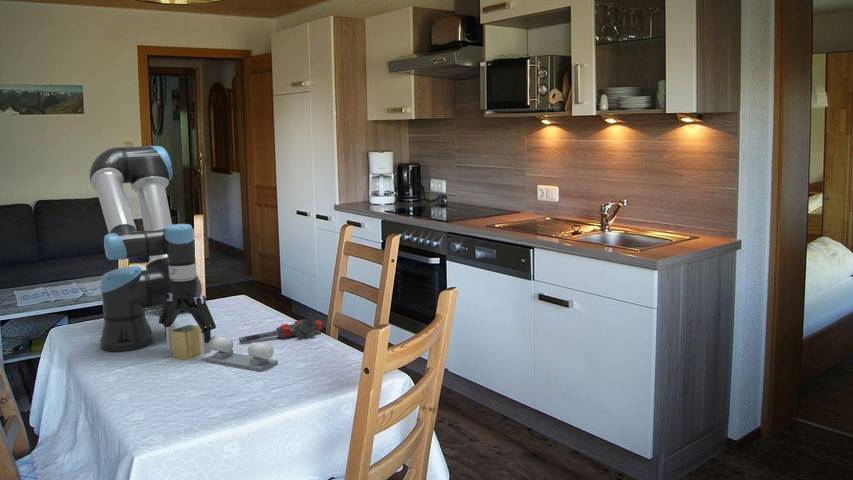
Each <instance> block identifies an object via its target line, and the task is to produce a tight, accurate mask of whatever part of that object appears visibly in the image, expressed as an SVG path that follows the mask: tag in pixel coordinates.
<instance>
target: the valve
mask: <svg viewBox="0 0 853 480" xmlns="http://www.w3.org/2000/svg"><path fill="white" fill-rule="evenodd" d="M323 327H324V326H323V322H322V321H321V320H319V319H317V320H314V321H311V320H310V319H306V318H305V319H301V320H295V321H294V323H293V324H288V323H287V324H282V325H280V326H279V327H277V328H276V330H273V331H268V332H263V333H258V334H251V335H250V334H249V335H246V336H245V335H244V336H240V337H239V338H238V340H239V342H240V343H245V342H248V341H249V342H251V341H256V340H259V339H267V338H270V337H276V336H277V337H278V338H279V339H283V338H284V339H290V338H289V337H291V336H296V337H297V338H298V339H299V340H301V341H303V340H302V339H304V340H309V339H308V338H311V339H312V338H313V337H314V336H315V334H316V332H318V331H320V330H322V329H323Z"/></svg>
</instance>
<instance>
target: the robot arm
mask: <svg viewBox="0 0 853 480" xmlns="http://www.w3.org/2000/svg"><path fill="white" fill-rule="evenodd" d="M172 178H173V169H172V162H171V157H170V155H169V154H168V151H167V150H166V148H164V147H163V146H159V145H154V146H153V145H147V146H145V145H144V146H125V147H124V146H122V147H121V146H120V147H119V146H116V147H111V148H108V149H105V151H104V150H103V152H101V153H100V154H99V155H98V156H97V157H96V158H95V159H94V161H93V163H92V164H91V166H90V170H89V180H90V184H91V185H90V186H92V188H93V189H94V190H95V191H96V193H97V195H98V199H99V200H98V201H99V203H100V207H101V210H102V214H103V217H104V221H105V224H106V228H107V231H108V234H105V235H104V236H103V237H104V238H103V246H104V253H105V257H106V259H108V260H110V261H117V260H119V261H121V260H123V261H124V260H129V259H136V258H145V257H149V261H148V262H147V263H145V264H146V265H145V269H146V270H145V269H144V270H143V269H142V268H141V267H140V266H138V265H133V266H125V267H124V266H123V267H120V268H115V269H112V270H110V271H107V272H105V273H104V274H103V275H102V276H101V278H100V292H101V299H102V300H101V301H102V308H103V309H102V310H103V320H104V323H103V327H102V331H101V332H102V333H101V337H100V339H99V344H100V349H101V350H103V351H106V352H127V351H133V350H138V349H142V348H145V347H147V346H150V345H151V344H153V343H154V334H153V331H152V328H151V327H150V325H149V322H148V320H147V317H146V310H145V309H147V308H148V309H149V308H150V309H151V308H154V307H155V308H156V307H158V306H163V308H161V312H160V314H159V315H160V316H159V319H158V324H161V325H163V327H164V333H165V337H166V344H167V349H168V350H171V349H172V337H171V331H172V330H175V329H176V325H174V324H175V320H176V319H177V317H178V315H179V314H180V312H188V313H189V314H190V315H191V317H192V318H193V319H194V321H195V322H196V324H197V326H199V327H200V328H201V330H202V331H201V332H200V337H201V349H202V355H203V356H205V355H207V354H209V353H211V352H212V351H211V349H210V348H209V340H210V339H211V337H212V336H211V334H212V333H211V331H212V330H215V329H216V328H217V325H216V323H215V320H214V318H213V316H212V314H211V312H210V309H209V307H208V304H207V299H206V296H204V295H201V296H200V297H197V296H196V291H197V290H198V286H197V279H196V278H195V277H196V276H198V273H197V263H196V252H195V251H196V250H195V235H194V229H193V226H192V224H189V223H187V224H186V223H177V224H175V223H174V224H173V222H172V218H171V212H170V206H169V202H168V196H167V189H166V188H167V187H168V186H169V184H170V181H171V180H172ZM124 184H130V187H131V190H132V191H134V192H136V193H137V196H138V197H137V199H138V201H139V208H140V215H141V218H142V225H143V230H137V226H136V224H135V220H134V218H133V217H134V216H133V214H132V211H131V207H130V205H129V202H128V199H127V195H126V192H125V188H124V186H123V185H124ZM172 305H173V306H172ZM171 309H172V310H171ZM182 310H183V311H182Z"/></svg>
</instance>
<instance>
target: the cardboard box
mask: <svg viewBox="0 0 853 480" xmlns="http://www.w3.org/2000/svg"><path fill="white" fill-rule="evenodd" d="M201 331H202V330H201V328H200V327H199V325H193V324H188V325H187V324H186V325H183V326H182V327H181V326H180V327H178V328H175V330H172V331H171V337H172V348H171V349H172V358H173V359H179V360H183V361H184V360H185V361H189V360H192V359H194V358H196V357H199V356H201V355H202V349H201V337H200V332H201Z"/></svg>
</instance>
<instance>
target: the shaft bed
mask: <svg viewBox="0 0 853 480" xmlns="http://www.w3.org/2000/svg"><path fill="white" fill-rule="evenodd" d="M209 348H210V349H211V350H212V351H215V352H214V353H213V355H211V356H209V357H206V358H205V362H206V363H211V364H214V365H215V364H216V365H220V366H226V367H233V368H237V369H243V370H249V371H255V372H260V373H262V372H263V371H266V370H268V369H270V368H272V367H274V366H276V365H278V364H279V360H277V359H272V357H273V355H274V346H273V345H271V344H267V343H264V342H255V341H253V342H251V343H250V344H249V346H248V349H247V353H248V355H246V354H242V353H235V352H234V349H233V348H234V341H233V339H232V338H231V337H230V338H229V337H223V336H216V335H213V336H211V339H210V340H209Z"/></svg>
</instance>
